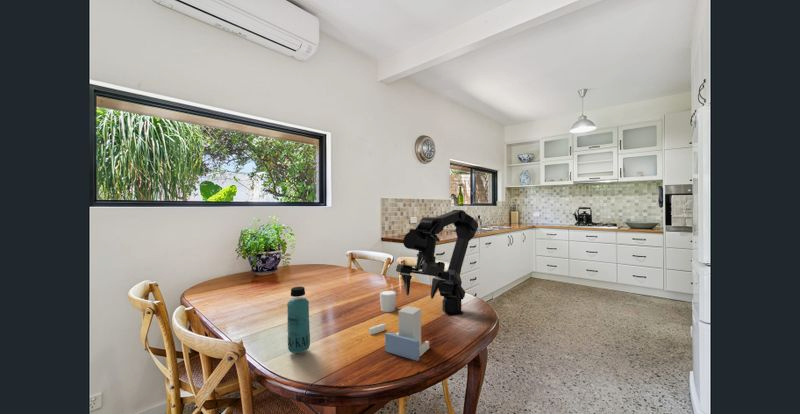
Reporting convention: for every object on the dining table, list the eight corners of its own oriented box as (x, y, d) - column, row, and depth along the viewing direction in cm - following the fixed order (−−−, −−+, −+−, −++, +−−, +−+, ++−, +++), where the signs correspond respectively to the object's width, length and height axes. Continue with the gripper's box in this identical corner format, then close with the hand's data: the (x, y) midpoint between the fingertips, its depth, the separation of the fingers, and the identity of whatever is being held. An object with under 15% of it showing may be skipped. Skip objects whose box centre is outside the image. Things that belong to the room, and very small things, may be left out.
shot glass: (394, 313, 129) (394, 295, 128) (377, 312, 130) (377, 294, 130) (398, 306, 135) (397, 290, 135) (382, 305, 137) (381, 289, 136)
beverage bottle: (290, 348, 101) (288, 284, 100) (312, 347, 101) (310, 284, 100) (285, 359, 94) (283, 291, 93) (308, 357, 95) (306, 290, 94)
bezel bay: (400, 340, 105) (399, 323, 105) (430, 348, 99) (430, 330, 99) (385, 351, 98) (385, 333, 97) (417, 360, 92) (417, 342, 92)
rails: (383, 329, 114) (383, 323, 114) (401, 338, 106) (401, 332, 106) (369, 333, 110) (369, 328, 110) (386, 344, 102) (386, 338, 102)
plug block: (407, 343, 103) (406, 305, 102) (421, 346, 100) (420, 308, 100) (399, 349, 99) (398, 311, 98) (413, 353, 96) (412, 314, 96)
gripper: (409, 248, 105) (401, 297, 103) (460, 257, 110) (454, 304, 108) (399, 247, 115) (391, 292, 113) (446, 256, 121) (440, 298, 118)
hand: (419, 296), depth 113 cm, fingers open, 9 cm apart
